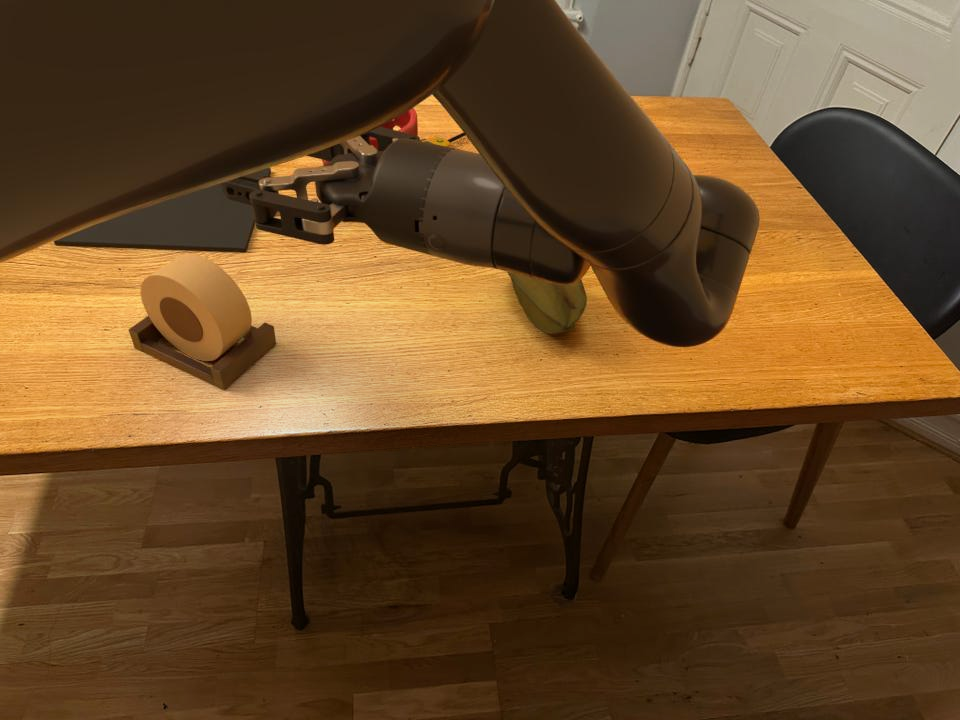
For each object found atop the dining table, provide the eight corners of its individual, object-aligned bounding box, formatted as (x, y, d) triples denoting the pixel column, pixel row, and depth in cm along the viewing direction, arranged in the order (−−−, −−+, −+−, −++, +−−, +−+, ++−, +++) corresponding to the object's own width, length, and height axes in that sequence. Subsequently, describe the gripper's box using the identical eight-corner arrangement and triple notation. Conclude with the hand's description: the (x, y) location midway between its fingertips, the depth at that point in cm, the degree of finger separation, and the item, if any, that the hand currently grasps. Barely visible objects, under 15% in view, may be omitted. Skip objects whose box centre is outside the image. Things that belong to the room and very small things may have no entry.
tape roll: (230, 375, 69) (211, 295, 63) (154, 341, 72) (127, 261, 65) (259, 350, 72) (243, 271, 66) (184, 318, 75) (162, 240, 68)
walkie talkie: (393, 149, 103) (457, 120, 113) (393, 161, 105) (456, 131, 114) (418, 161, 101) (481, 130, 111) (417, 173, 103) (479, 141, 112)
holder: (224, 390, 68) (220, 372, 66) (134, 347, 71) (128, 329, 69) (276, 343, 73) (274, 326, 72) (191, 306, 77) (186, 288, 75)
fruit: (601, 302, 84) (613, 257, 79) (565, 360, 76) (576, 314, 71) (515, 271, 87) (522, 226, 82) (472, 324, 79) (477, 277, 74)
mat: (54, 245, 82) (53, 240, 82) (109, 163, 97) (107, 159, 96) (245, 252, 85) (245, 248, 84) (271, 171, 99) (270, 167, 99)
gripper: (493, 116, 51) (307, 80, 56) (399, 199, 41) (182, 146, 46) (489, 208, 56) (319, 167, 61) (404, 302, 46) (208, 244, 51)
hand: (260, 158), depth 53 cm, fingers open, 8 cm apart
